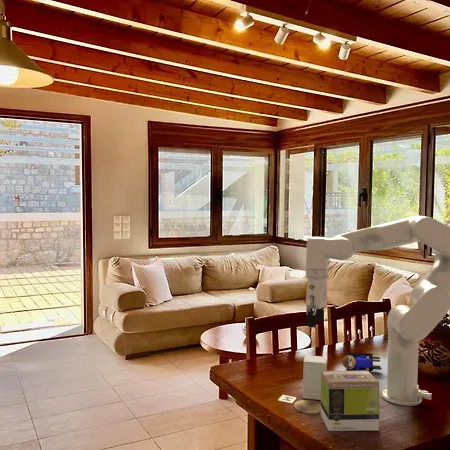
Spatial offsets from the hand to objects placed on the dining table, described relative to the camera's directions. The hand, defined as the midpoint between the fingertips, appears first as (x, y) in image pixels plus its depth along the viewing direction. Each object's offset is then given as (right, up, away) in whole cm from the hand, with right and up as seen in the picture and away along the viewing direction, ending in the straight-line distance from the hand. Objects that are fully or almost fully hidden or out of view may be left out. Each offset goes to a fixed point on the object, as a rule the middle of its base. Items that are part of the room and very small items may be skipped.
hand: (315, 323), depth 162 cm
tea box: (+6, -26, -19) cm, 33 cm away
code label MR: (-10, -25, -2) cm, 27 cm away
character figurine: (+23, -24, +25) cm, 42 cm away
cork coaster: (-4, -25, -9) cm, 27 cm away
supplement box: (0, -25, +1) cm, 25 cm away
